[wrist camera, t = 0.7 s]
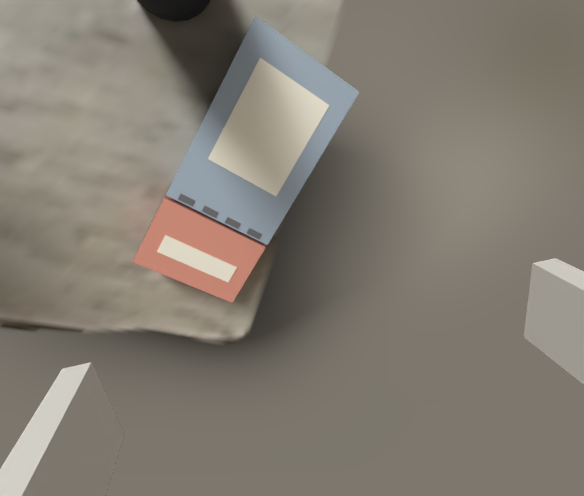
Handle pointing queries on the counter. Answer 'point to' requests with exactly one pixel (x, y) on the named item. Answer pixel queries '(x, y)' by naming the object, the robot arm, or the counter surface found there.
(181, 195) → the blue labeled box
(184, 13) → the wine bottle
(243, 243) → the red box
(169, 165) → the counter surface
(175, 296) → the counter surface
